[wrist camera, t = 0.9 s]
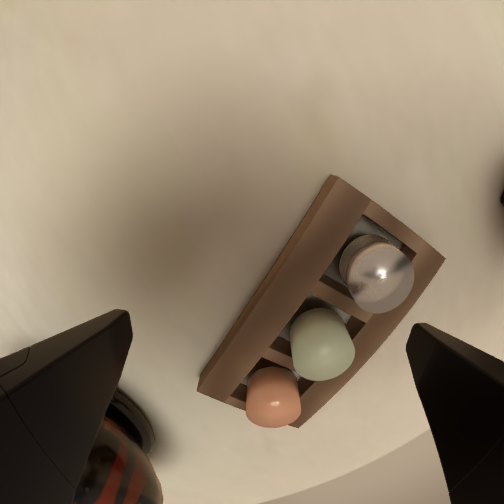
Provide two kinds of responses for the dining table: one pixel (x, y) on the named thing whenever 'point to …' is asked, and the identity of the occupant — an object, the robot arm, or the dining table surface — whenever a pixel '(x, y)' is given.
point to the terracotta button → (272, 397)
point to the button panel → (315, 282)
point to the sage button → (320, 345)
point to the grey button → (376, 273)
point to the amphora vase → (120, 460)
